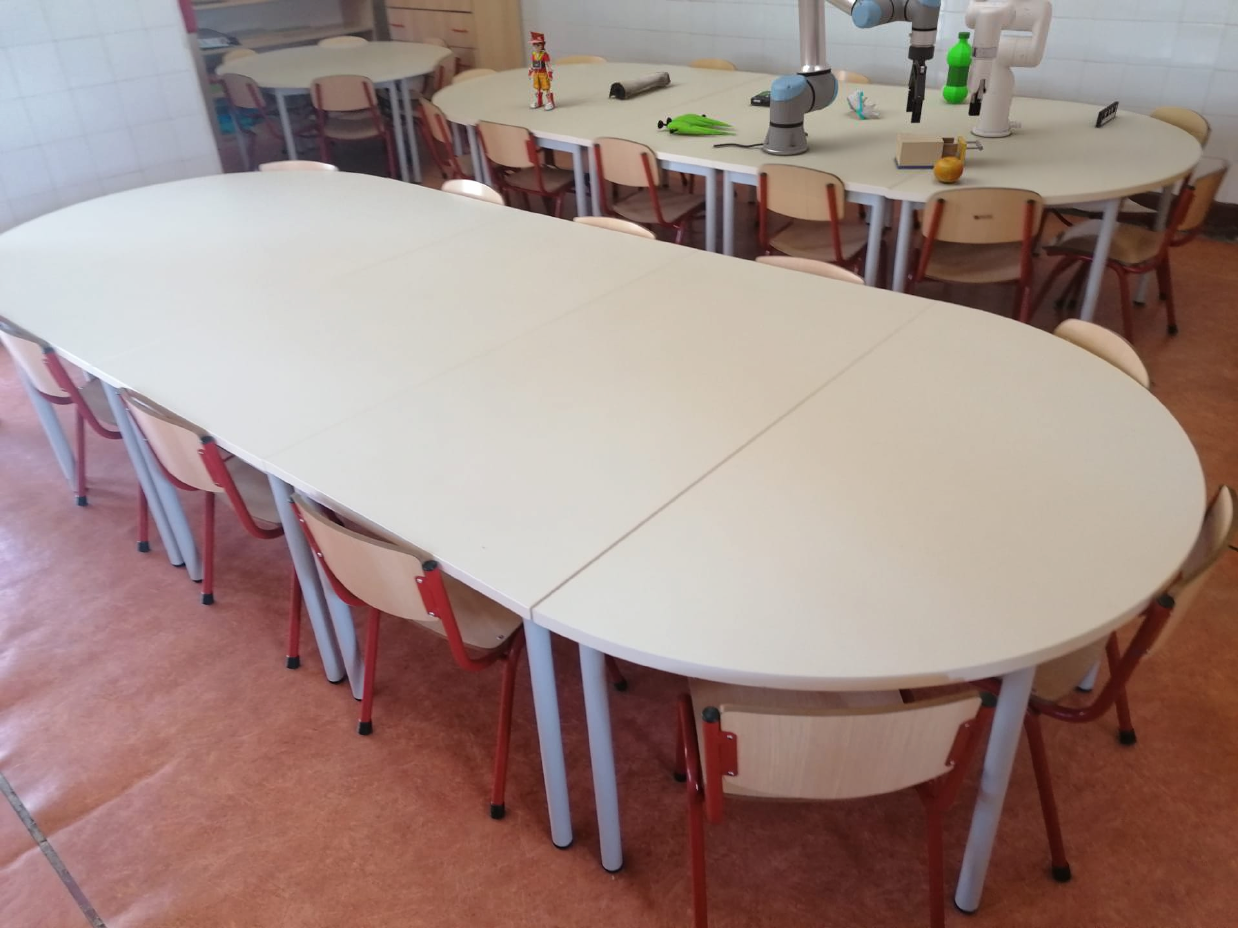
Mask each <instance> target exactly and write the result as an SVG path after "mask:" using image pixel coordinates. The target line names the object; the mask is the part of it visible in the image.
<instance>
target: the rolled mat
mask: <svg viewBox="0 0 1238 928" xmlns="http://www.w3.org/2000/svg"><path fill="white" fill-rule="evenodd" d="M671 83H672V81H671V77H670V74H669V72H668V71H658V72H654V73H649V74H645V75H640V76H637V77H633V78H628V79H623V80H620V81H616V82H613V83H612V84H611V85H610V89H609V95H608V97H609V98H611V97H616V99H620V100H622V101H623V100H626V99H627V98H629V97H630V96H632V95H635V94H636V93H638V92H640V91H643V90H644V89H647V88H650V87H655V86H658V87H659V86H661V87H665V86H669V85H670V84H671Z"/></svg>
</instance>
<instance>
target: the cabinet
mask: <svg viewBox="0 0 1238 928" xmlns="http://www.w3.org/2000/svg"><path fill="white" fill-rule="evenodd" d="M897 135H898V136H897V141H896V142H897V143H896V150H895V163H896V165H897V167H898V169H934V166H935V164H936V163H937V161H939V160H940V159H941V157H942V151H943V144H944V141H943V139H942V136H941V134H940V132H898V134H897Z"/></svg>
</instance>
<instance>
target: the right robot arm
mask: <svg viewBox="0 0 1238 928" xmlns="http://www.w3.org/2000/svg"><path fill="white" fill-rule="evenodd" d="M1052 16H1053V5H1052V2H1051V1H1050V0H1002V2H996V1H989V0H969V2H968V5H967V8H966V11H965V15H964V23H965V27H967V28H968V29H970V30H974V32H973V39H972V45H971V47H972V50H971V57H970V58H972V62H971V65H970V68H969V74H968V80H967V89H968V93H970V101H969V106H968V112H967V115H968V116H969V117H978V123H977V126H974V127H973V128H972V134H974V135H976V136H979V137H986V138H1002V137H1007V136H1009V135H1010V134H1011V130H1012V129H1021V128H1022V123H1023V122H1022V121H1021V122H1020V121H1019V122H1017V121H1015V120H1013V121H1010V119H1009V117H1010V110H1011V106H1012V100H1013V95H1014V91H1015V90H1014V89H1015V85H1016V84H1015V83H1016V77H1015V74H1014V73H1013V71H1012V69H1011V68H1027V69H1030V68H1037V67H1038V66H1039V65H1040V64H1041V62H1042V60H1043V56H1044V53H1045V48H1046V44H1047V40H1048V35H1049V31H1050V27H1051V22H1052ZM1002 31H1009V32H1011V31H1012V32H1030V33H1031V34H1032V35H1019V34H1018V35H1017V34H1015V35H1013V34H1002ZM1001 34H1002V35H1001Z"/></svg>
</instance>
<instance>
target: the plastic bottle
mask: <svg viewBox="0 0 1238 928" xmlns="http://www.w3.org/2000/svg"><path fill="white" fill-rule="evenodd" d="M970 36H971V32H970V31H959V32H958V36H957V39H958V42H957V43H956V44H954V45H953V46H952V47H951V48H950V49H949V50H948V52H947V54H946V63H947V64H948V69H947V70H948V71H947V76H946V77H947V78H946V84H945V85H944V87H943V90H942V97H943V99H944V100H945V101H946V102H947V103H948V104H960V103H961V102H963V101H964V100H966V98H967V96H968V95H969V91H968V89H967V81H968V76H969V71H970V66H971V62H972V58H970V57H971V50H972V45H971V44H970V43H969V42H968V41H969V39H970V38H971V37H970Z"/></svg>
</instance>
